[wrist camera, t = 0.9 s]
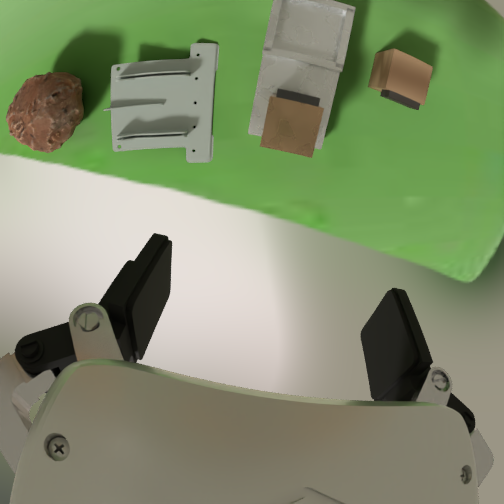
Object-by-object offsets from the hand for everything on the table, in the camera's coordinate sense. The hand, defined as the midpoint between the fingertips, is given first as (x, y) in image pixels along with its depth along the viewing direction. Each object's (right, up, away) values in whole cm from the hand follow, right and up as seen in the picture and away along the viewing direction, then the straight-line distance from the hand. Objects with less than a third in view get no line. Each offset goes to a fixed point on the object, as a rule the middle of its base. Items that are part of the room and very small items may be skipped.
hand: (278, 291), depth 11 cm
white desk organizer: (+4, +22, +15) cm, 27 cm away
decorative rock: (-28, +23, +18) cm, 40 cm away
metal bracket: (-12, +20, +19) cm, 30 cm away
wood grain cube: (+15, +22, +13) cm, 30 cm away
